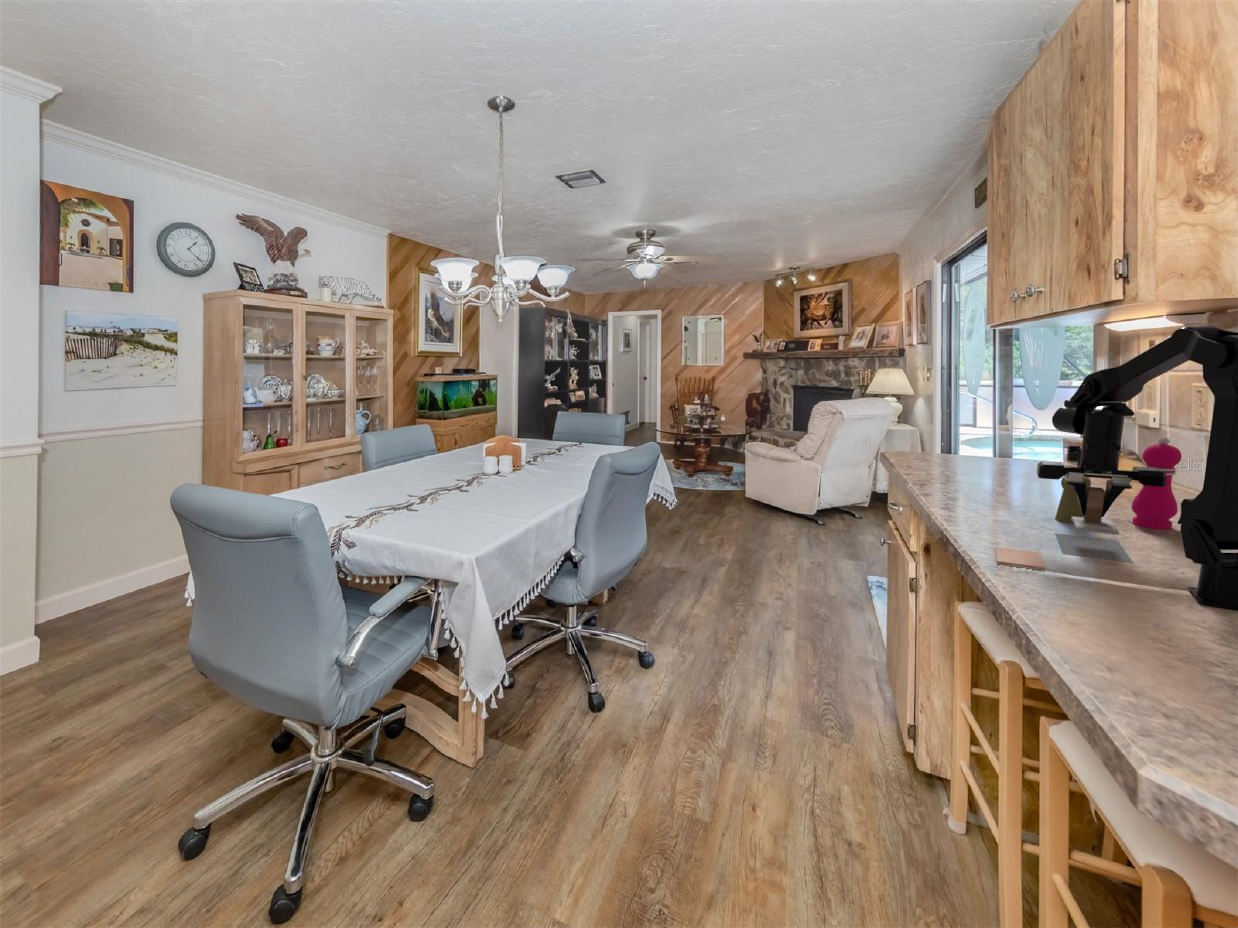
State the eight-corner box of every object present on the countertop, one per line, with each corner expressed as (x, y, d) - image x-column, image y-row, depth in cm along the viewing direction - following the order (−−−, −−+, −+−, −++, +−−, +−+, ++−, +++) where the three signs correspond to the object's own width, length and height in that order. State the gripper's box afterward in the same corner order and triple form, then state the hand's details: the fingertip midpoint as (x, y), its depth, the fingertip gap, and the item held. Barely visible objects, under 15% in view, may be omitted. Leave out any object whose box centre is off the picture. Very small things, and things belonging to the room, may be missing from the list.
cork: (1048, 521, 127) (1053, 474, 125) (1063, 517, 130) (1069, 471, 128) (1079, 527, 122) (1084, 479, 120) (1094, 524, 124) (1100, 476, 122)
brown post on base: (1118, 534, 102) (1123, 498, 101) (1076, 530, 105) (1081, 494, 104) (1109, 523, 109) (1114, 488, 108) (1071, 519, 113) (1075, 485, 111)
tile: (1039, 559, 105) (1044, 574, 98) (995, 553, 109) (996, 567, 101) (1040, 552, 105) (1045, 567, 97) (995, 546, 108) (997, 560, 101)
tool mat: (1133, 565, 99) (1133, 562, 99) (1062, 556, 105) (1062, 553, 105) (1117, 542, 112) (1117, 540, 111) (1054, 535, 117) (1054, 533, 117)
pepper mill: (1159, 533, 116) (1173, 440, 113) (1120, 524, 123) (1132, 436, 120) (1183, 530, 118) (1197, 438, 115) (1143, 521, 125) (1155, 434, 122)
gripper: (1157, 435, 108) (1146, 512, 111) (1038, 431, 119) (1031, 502, 121) (1172, 442, 99) (1160, 525, 102) (1042, 437, 109) (1034, 513, 112)
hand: (1092, 515), depth 109 cm, fingers closed on brown post on base, 2 cm apart
